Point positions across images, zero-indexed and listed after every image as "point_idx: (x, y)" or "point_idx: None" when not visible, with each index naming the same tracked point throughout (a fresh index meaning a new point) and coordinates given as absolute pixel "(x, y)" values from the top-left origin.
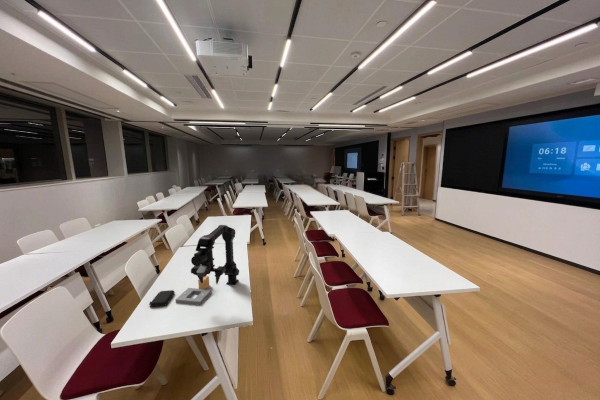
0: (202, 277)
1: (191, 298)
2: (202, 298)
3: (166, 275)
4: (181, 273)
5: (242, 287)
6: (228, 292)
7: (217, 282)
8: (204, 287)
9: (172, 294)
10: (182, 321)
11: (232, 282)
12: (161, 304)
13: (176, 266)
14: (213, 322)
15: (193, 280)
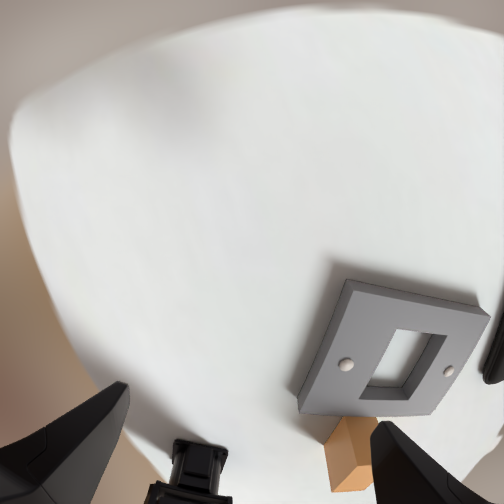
0: (389, 499)
1: (416, 329)
2: (342, 329)
3: (481, 452)
4: None
5: None
6: (184, 390)
7: (95, 401)
8: (347, 428)
9: (495, 358)
10: (410, 99)
11: (186, 453)
12: None
13: None
14: (180, 61)
15: None
